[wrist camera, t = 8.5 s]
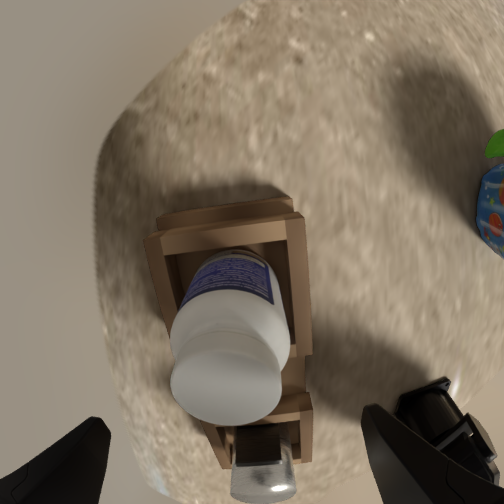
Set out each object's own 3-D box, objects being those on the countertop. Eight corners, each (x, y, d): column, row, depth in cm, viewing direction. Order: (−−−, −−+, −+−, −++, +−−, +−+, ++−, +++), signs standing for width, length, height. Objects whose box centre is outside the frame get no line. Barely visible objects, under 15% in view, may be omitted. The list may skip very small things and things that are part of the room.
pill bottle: (177, 277, 17) (122, 370, 9) (246, 230, 16) (241, 301, 8) (227, 338, 19) (214, 447, 10) (294, 299, 18) (325, 403, 9)
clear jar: (286, 405, 21) (295, 475, 14) (289, 439, 22) (296, 500, 15) (228, 410, 21) (222, 480, 14) (238, 444, 22) (236, 504, 16)
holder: (293, 195, 17) (302, 203, 14) (307, 439, 24) (311, 465, 21) (159, 214, 18) (140, 226, 14) (225, 446, 25) (223, 472, 21)
